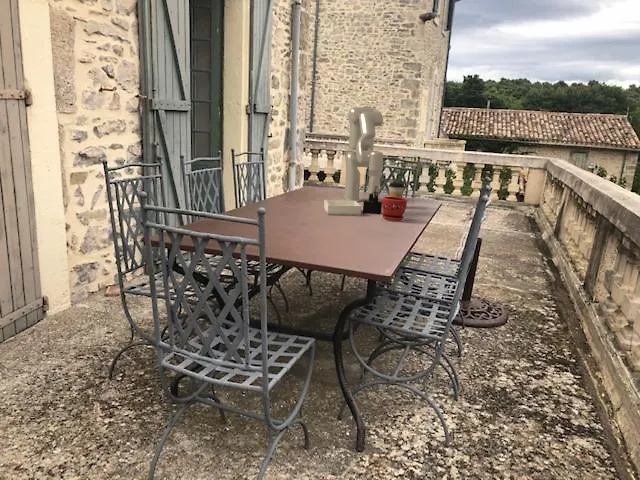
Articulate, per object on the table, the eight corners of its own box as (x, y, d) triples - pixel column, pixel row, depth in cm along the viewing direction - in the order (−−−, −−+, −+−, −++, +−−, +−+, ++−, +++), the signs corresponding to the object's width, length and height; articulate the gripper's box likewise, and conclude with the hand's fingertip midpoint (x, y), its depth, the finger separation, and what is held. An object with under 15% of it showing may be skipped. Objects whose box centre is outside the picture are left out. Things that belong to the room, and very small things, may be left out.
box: (324, 209, 284) (324, 199, 283) (355, 210, 287) (355, 200, 285) (327, 214, 268) (328, 205, 267) (360, 215, 271) (361, 206, 269)
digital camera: (381, 213, 282) (382, 201, 280) (380, 214, 277) (381, 202, 275) (364, 211, 284) (365, 199, 282) (362, 213, 279) (363, 201, 277)
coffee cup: (403, 209, 297) (406, 184, 294) (387, 208, 298) (389, 184, 294) (401, 206, 307) (403, 182, 303) (386, 205, 307) (388, 181, 303)
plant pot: (404, 222, 258) (406, 200, 255) (380, 220, 260) (381, 198, 257) (405, 218, 270) (407, 197, 267) (382, 216, 273) (383, 195, 270)
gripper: (365, 172, 283) (363, 201, 287) (372, 175, 266) (370, 205, 270) (378, 172, 284) (376, 201, 288) (385, 175, 267) (383, 206, 271)
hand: (373, 203), depth 279 cm, fingers open, 9 cm apart
